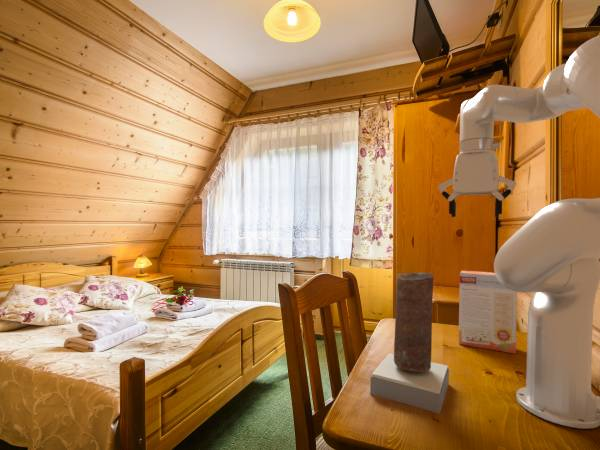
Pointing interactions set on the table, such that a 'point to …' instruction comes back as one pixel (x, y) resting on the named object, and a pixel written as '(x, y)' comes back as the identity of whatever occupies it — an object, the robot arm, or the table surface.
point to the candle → (413, 322)
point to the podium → (411, 384)
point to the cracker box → (486, 312)
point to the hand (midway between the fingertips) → (474, 217)
